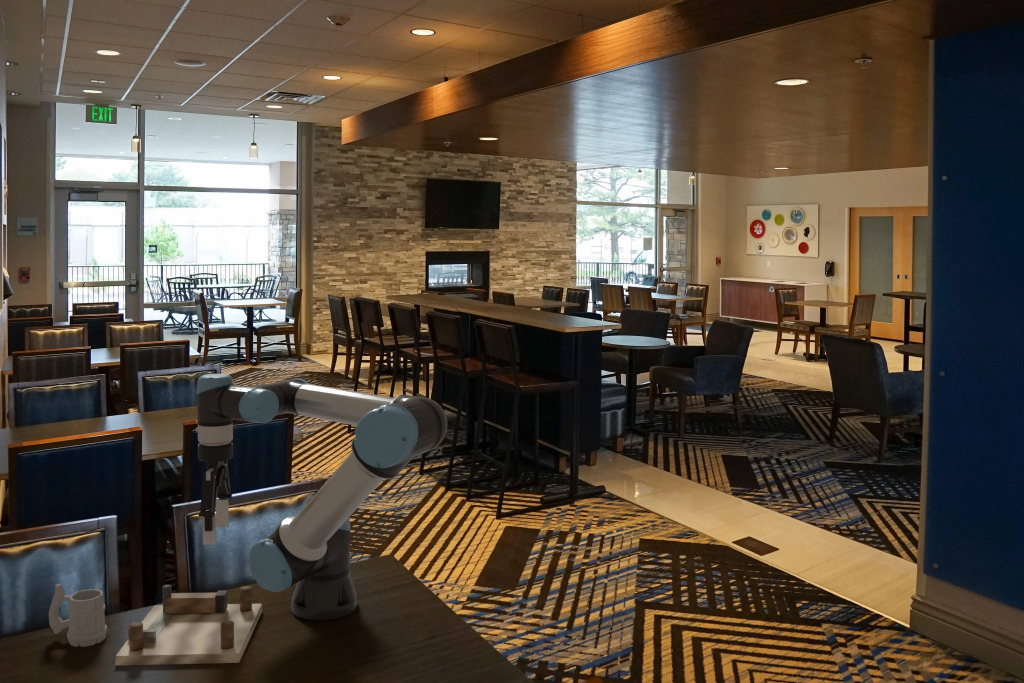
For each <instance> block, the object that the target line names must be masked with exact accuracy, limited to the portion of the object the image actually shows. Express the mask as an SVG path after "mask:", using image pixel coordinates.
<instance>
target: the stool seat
mask: <svg viewBox="0 0 1024 683" xmlns="http://www.w3.org/2000/svg"><path fill="white" fill-rule="evenodd" d="M262 613H263V604H262V603H253V587H252V586H249V585H246V586H245V585H244V586H241V587H240V588H239V603H227V609H226V611H225V613H166V614H165V613H163V604H159V605H158V604H157V605H153V606H152V607H151V609H150V610H149V611H148V613H147V614H146V615H145V617H144V618H143V620H142V621H141V622H140V621H138V622H137V621H136V622H132V623H130V624H129V625H128V628H127V640H126V642H125V643H124V645H123V646H122V647H121V648H120V650H119V651H118V652H117V653H116V655H115V666H146V665H147V666H155V665H157V666H158V665H188V664H189V665H193V664H194V665H195V664H196V665H197V664H200V665H201V664H202V665H203V664H228V663H229V664H232V663H234V664H236V663H240V662H241V659H242V657H243V655H244V653H245V652H246V651H245V650H246V648H247V646H248V644H249V642H250V640H251V637H252V635H253V633H254V631H255V628H256V626H257V624H258V621H259V619H260V617H261V615H262Z"/></svg>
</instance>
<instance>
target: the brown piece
mask: <svg viewBox="0 0 1024 683" xmlns="http://www.w3.org/2000/svg"><path fill="white" fill-rule="evenodd" d="M227 604H228V590H222V589H221V590H220V589H219V590H217V591H216V592H174V593H173V592H172V585H171V584H164V585H162V605H163V613H165V614H166V613H225V611H226V609H227Z"/></svg>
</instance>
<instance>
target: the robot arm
mask: <svg viewBox="0 0 1024 683" xmlns="http://www.w3.org/2000/svg"><path fill="white" fill-rule="evenodd" d="M196 387H197V388H196V400H197V405H196V406H197V410H196V411H197V427H196V428H194V429H195V430H194V431H195V432H197V441H198V442H199V443H198V445H197V459H198V460H199V461H200V462H204V463H205V462H206V464H207V465H206V468H204V470H202V486H201V497H200V509H199V510H200V511H199V513H198V517H200V518H202V545H203V546H205V545H209V546H210V545H217V528H226V527H227V528H228V527H229V526H230V525H229V524H230V523H229V520H230V519H229V518H230V517H229V516H230V515H229V511H230V510H229V506H230V505H229V499H232V498H233V494H232V493H231V492H232V491H231V482H230V481H231V480H230V472H229V460H231V459H232V458H233V455H234V444H233V442H232V441H233V439H234V428H233V427H234V422H233V420H234V421H235V420H236V421H241V422H247V423H252V424H258V423H259V424H260V423H261V424H266V423H269V422H271V421H272V420H273V419H274V418H275V417H276V416H279V415H284V414H293V415H298V416H303V417H310V418H314V419H320V420H325V421H330V422H335V423H340V424H346V425H352V426H356V427H355V430H354V435H355V436H354V438H353V439H352V441H351V444H350V446H351V452H350V454H348V456H346V458H345V459H344V461H343V462H342V463H341V464H340V465H339V466H338V467H337V469H336V470H335V471H334V472H333V473H332V475H330V477H328V479H327V480H326V481H325V483H324V484H323V485H322V486H320V488H319V490H318V491H317V492H316V493H315V494H314V495H313V496H312V497H311V499H310V500H309V501H308V502H307V503H306V505H304V507H303V508H302V509H301V510H300V511H299V512H298V514H297V515H291V516H287V517H286V518H285V519H283V520H282V521H281V522H280V524H279V525H278V526H277V527H276V528H275V529H274V531H273V532H272V533H271V534H270V535H269V536H267V537H265V538H261V539H259V540H258V541H256V542H254V544H253V545H252V546H251V548H250V550H249V552H248V564H249V570H250V573H251V575H252V577H253V579H254V581H256V583H257V584H258V585H259V586H260V587H261V588H262V589H263V590H265V591H268V592H269V591H270V592H272V593H278V592H282V591H283V590H288V589H290V587H292V586H294V585H295V584H296V586H295V588H294V591H293V595H292V598H291V602H290V603H291V612H292V615H294V616H296V617H297V618H300V619H303V620H307V621H318V622H319V621H330V620H336V619H341V618H343V617H346V616H348V615H350V614H352V613H353V612H354V611H355V610H356V609H355V608H357V607H356V606H357V604H358V602H357V601H358V596H357V592H356V589H355V587H354V583H353V580H352V578H351V574H350V573H351V572H350V567H351V564H350V563H351V532H352V529H351V520H350V517H351V516H352V514H354V512H355V511H356V510H357V509H358V508H359V507H360V506H361V505H362V504H363V502H364V501H365V500H366V499H367V498H368V497H369V496H371V493H373V492H374V490H376V488H377V487H378V486H379V485H380V483H381V482H383V480H392V479H394V478H396V476H398V475H399V473H401V472H402V471H403V469H404V468H405V467H406V466H407V465H408V464H409V462H410V461H412V460H413V459H414V458H415V457H418V456H419V455H422V454H424V453H428V452H430V451H432V450H434V449H435V448H437V447H439V445H440V444H441V443H442V442H443V440H444V438H445V436H446V435H447V430H448V418H447V415H446V412H445V411H444V409H443V407H442V406H441V405H440V404H439V402H436V401H435V400H433V399H432V398H429V397H423V396H416V395H408V394H399V395H397V396H396V397H391V396H385V395H379V394H373V393H366V392H363V391H354V390H348V389H341V388H336V387H331V386H330V387H329V386H324V385H318V384H317V385H316V384H312V383H311V384H310V383H309V382H308V381H307V380H306V379H305V378H304V379H303V378H289V379H286V380H282V381H275V382H271V383H266V384H260V385H253V386H241V385H240V386H239V385H234V382H233V377H232V376H231V375H230V374H226V373H208V374H203V375H201V376H199V377H198V379H197V386H196Z"/></svg>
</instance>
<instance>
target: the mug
mask: <svg viewBox="0 0 1024 683" xmlns="http://www.w3.org/2000/svg"><path fill="white" fill-rule="evenodd" d="M54 590H55V591H54V594H53V598H52V601H51V603H50V604H51V605H50V606H49V611H48V622H49V623H48V624H49V627H50V628H51V629H52V630H53V633H54V635H58V634H59V633H61V631H62V630H64V629H67V628H68V630H67V632H66V639H67V640H68V644H69V645H70V646H72V647H74V648H75V647H76V648H78V647H82V648H83V647H90V646H93V645H95V644H99V643H101V642H103V641H104V640H105V639H106V636H107V635H106V634H107V631H108V626H107V624H106V618H105V611H106V604H105V603H104V591H102V590H101V589H97V588H96V589H95V588H92V589H91V588H90V589H89V588H88V589H82V590H79V591H76V592H73V593H72V594H69V595H67V594H66V590H65V589H64V587H63V585H61V584H60V583H57V584H55V588H54ZM63 602H69V605H68V607H69V608H68V609H67V616H68V619H65V620H63V619H62V618H61V617H60V615H59V608H60V606H61V605H62V604H63Z"/></svg>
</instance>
